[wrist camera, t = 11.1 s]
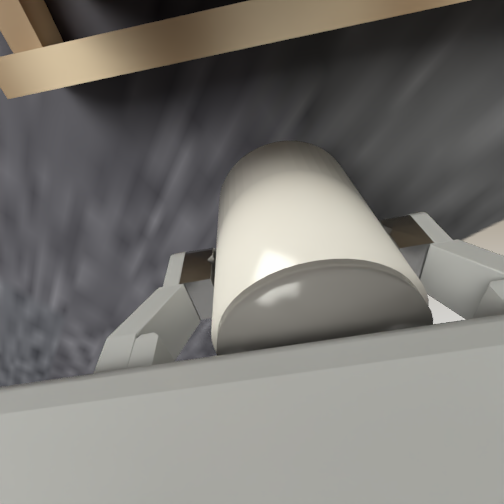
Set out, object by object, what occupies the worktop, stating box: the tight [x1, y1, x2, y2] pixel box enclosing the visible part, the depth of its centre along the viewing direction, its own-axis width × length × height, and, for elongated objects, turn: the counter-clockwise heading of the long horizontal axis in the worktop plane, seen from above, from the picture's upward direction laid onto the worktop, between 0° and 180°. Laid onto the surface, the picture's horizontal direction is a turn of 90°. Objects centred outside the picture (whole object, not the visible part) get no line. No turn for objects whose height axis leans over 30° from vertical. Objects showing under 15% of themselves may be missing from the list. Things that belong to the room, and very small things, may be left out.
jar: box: [211, 141, 433, 356], centre depth 10 cm, size 6×6×7 cm
